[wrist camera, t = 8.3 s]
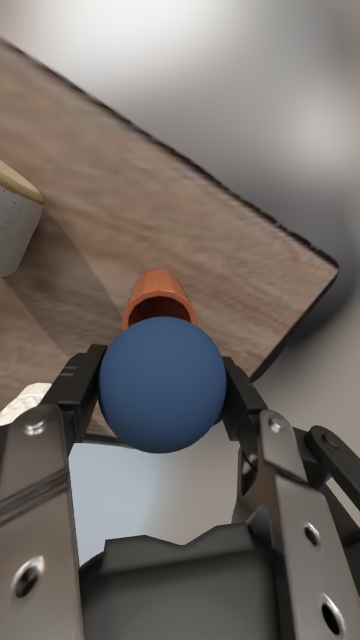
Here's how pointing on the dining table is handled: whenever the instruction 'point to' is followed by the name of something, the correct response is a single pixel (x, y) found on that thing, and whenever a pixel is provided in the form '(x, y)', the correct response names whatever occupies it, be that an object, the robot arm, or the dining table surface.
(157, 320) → the ball
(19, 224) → the ceramic mug
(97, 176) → the dining table surface
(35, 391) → the white cup
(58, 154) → the dining table surface
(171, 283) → the cup
